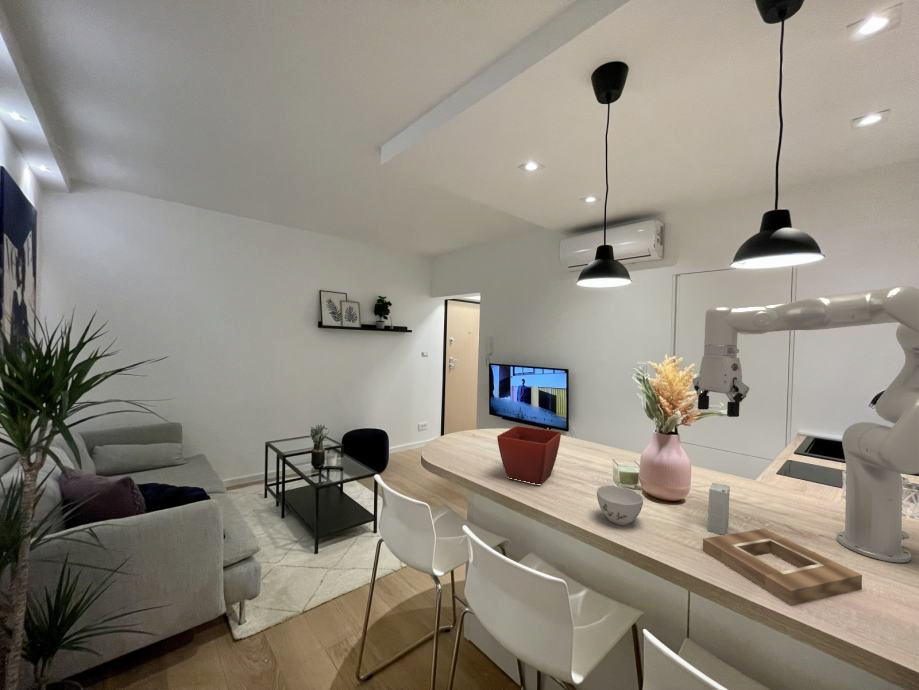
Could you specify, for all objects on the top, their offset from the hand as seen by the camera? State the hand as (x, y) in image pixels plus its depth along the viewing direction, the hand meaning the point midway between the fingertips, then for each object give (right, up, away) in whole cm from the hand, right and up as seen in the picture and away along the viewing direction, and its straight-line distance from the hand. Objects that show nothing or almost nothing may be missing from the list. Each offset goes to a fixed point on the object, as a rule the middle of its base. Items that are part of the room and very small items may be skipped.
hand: (717, 412), depth 105 cm
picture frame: (+1, -33, -18) cm, 37 cm away
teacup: (-25, -32, +5) cm, 41 cm away
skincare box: (0, -33, -1) cm, 33 cm away
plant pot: (-46, -32, +38) cm, 67 cm away
